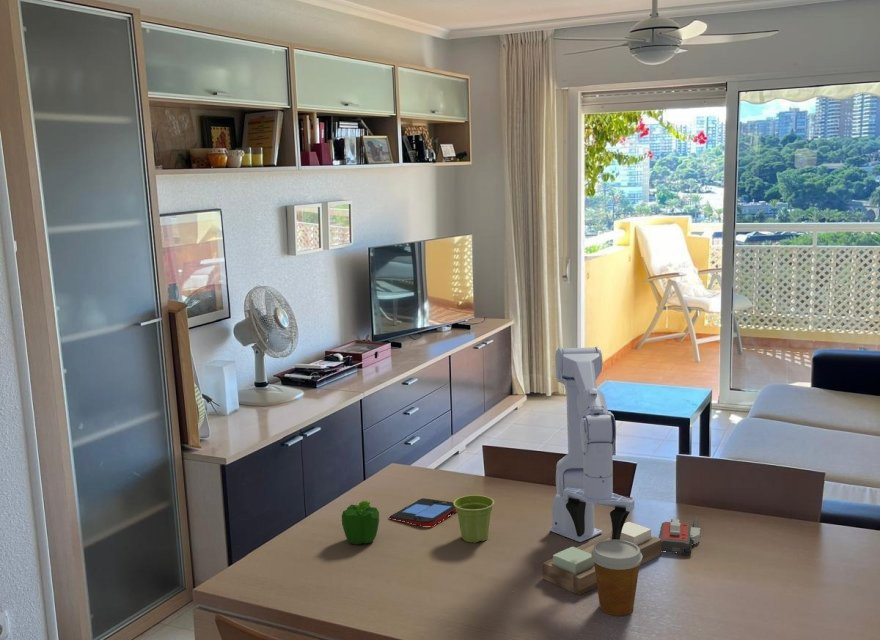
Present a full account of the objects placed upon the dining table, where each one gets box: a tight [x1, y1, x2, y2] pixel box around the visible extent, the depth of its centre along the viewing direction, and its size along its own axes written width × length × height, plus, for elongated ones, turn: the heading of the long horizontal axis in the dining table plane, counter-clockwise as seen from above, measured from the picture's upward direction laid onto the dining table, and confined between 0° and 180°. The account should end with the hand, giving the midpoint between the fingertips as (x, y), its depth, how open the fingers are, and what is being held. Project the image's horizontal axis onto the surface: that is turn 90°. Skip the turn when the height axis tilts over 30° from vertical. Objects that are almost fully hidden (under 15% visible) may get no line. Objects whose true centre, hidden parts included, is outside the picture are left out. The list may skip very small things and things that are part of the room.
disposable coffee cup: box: [591, 540, 643, 617], centre depth 164 cm, size 10×10×12 cm
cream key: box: [620, 521, 652, 545], centre depth 188 cm, size 6×6×3 cm
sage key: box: [552, 546, 595, 575], centre depth 176 cm, size 6×6×3 cm
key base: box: [541, 531, 662, 596], centre depth 182 cm, size 10×27×4 cm, turn 131°
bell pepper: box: [341, 500, 380, 545], centre depth 198 cm, size 8×8×10 cm
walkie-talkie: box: [659, 516, 702, 555], centre depth 195 cm, size 9×4×20 cm
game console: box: [388, 497, 457, 527], centre depth 214 cm, size 14×13×2 cm
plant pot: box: [452, 494, 495, 544], centre depth 198 cm, size 9×9×9 cm
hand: (598, 538), depth 173 cm, fingers open, 7 cm apart
